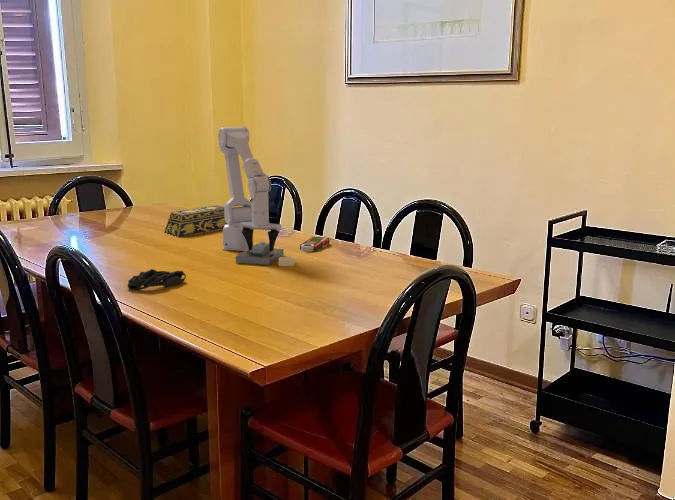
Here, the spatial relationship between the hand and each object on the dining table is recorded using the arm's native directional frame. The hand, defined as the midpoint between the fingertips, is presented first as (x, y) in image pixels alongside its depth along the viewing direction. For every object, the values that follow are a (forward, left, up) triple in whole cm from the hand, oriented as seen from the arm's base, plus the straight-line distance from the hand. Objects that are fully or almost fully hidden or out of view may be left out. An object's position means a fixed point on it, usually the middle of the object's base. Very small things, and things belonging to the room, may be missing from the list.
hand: (261, 250), depth 228 cm
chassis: (0, -1, -3) cm, 3 cm away
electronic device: (+12, +21, -4) cm, 25 cm away
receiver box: (+11, -5, -3) cm, 13 cm away
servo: (0, 0, -3) cm, 3 cm away
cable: (-20, -37, -4) cm, 42 cm away
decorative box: (-42, +39, -4) cm, 57 cm away
